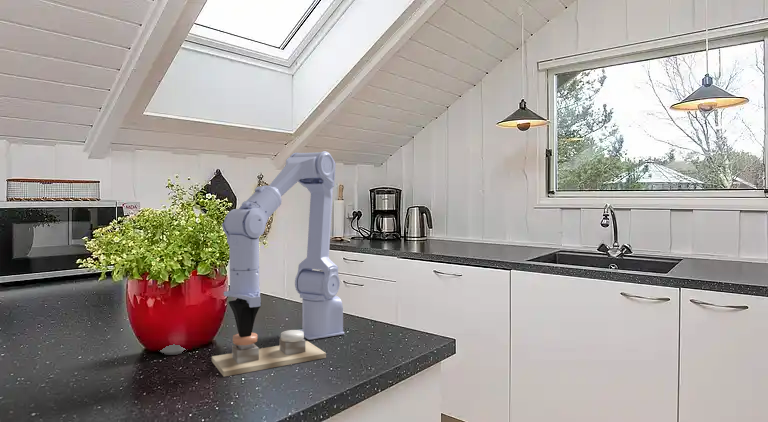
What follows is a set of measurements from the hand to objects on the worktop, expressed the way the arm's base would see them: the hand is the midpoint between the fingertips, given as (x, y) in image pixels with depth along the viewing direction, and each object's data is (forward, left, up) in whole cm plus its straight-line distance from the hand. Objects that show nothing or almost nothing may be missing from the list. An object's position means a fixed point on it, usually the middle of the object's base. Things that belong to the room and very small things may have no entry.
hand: (245, 335), depth 102 cm
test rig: (-5, 0, -6) cm, 8 cm away
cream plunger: (-10, 0, -5) cm, 11 cm away
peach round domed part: (0, 0, -4) cm, 4 cm away
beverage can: (+11, -16, -6) cm, 20 cm away
